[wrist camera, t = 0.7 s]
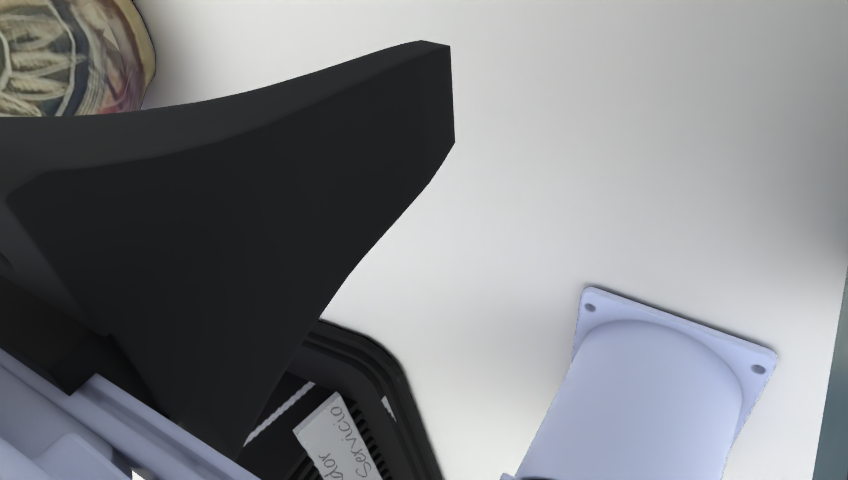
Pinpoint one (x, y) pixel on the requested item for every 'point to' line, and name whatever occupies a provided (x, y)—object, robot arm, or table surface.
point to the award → (339, 417)
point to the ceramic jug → (72, 57)
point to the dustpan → (836, 408)
